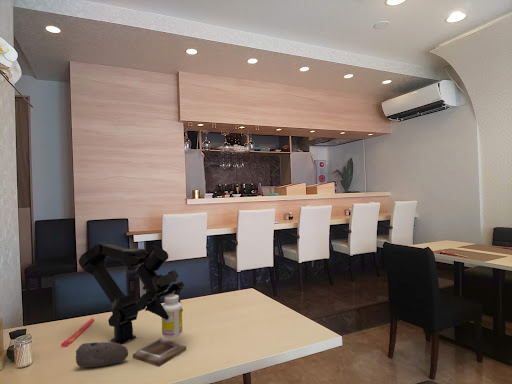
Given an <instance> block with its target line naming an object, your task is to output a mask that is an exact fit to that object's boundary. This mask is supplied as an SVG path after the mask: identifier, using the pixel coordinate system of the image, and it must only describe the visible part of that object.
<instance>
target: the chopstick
mask: <svg viewBox="0 0 512 384" xmlns="http://www.w3.org/2000/svg"><path fill="white" fill-rule="evenodd" d="M94 322H95V318H93V317H91V318H90V319H89V320H88V319H87V321H86V322H85V323H84V324H83V325H81V326H80V327H79V328H78V329H77V330H75V331H74V332H73V333H71V334H70V336H68V337H67V338H66V339H65V340H64V341H62V342H61V344H60V345H61V348H66V347H68V346H70V345H71V344H72V343H73V342H74V341H75V340H77V338H78V337H80V336H81V334H83V332H85V330H86V329H88V328H89V327H90V325H92V324H93V323H94Z"/></svg>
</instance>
